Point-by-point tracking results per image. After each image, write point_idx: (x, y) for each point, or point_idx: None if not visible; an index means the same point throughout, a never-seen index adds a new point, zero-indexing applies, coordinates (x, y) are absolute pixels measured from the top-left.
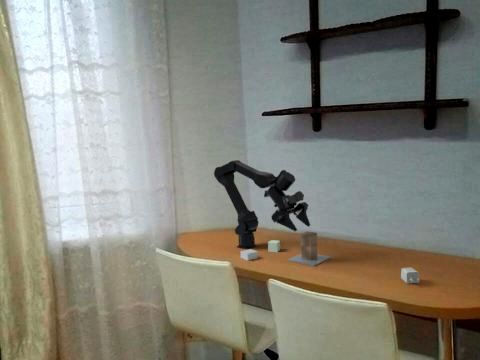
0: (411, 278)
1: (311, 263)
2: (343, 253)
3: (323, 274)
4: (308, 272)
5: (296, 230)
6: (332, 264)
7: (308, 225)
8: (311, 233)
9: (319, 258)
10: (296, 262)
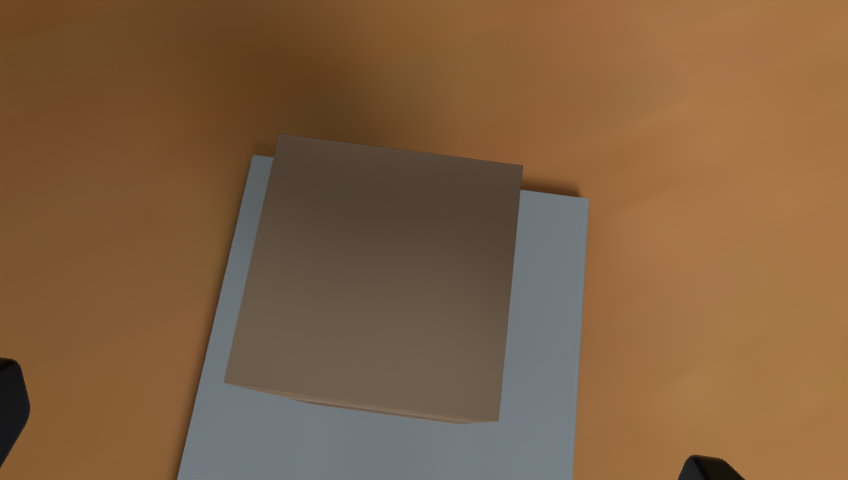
0: None
1: (565, 237)
2: (33, 110)
3: (735, 45)
4: (771, 176)
5: (686, 470)
6: (438, 77)
7: (12, 405)
8: (374, 209)
9: None
10: (571, 431)
